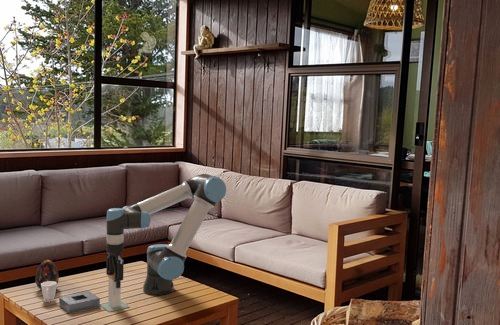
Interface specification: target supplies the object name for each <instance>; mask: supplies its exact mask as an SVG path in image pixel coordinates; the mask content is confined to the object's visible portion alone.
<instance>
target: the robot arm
mask: <svg viewBox="0 0 500 325" xmlns="http://www.w3.org/2000/svg"><path fill="white" fill-rule="evenodd" d="M226 193H227V186H226V183H225V182H224V180H223V179H222V178H220V177H219V176H216V175H210V174H208V173H200V174H198V175H195V176H193V177H190V178H188V179H186V180H184V181H183V182H182V184H180V185H177V186H175V187H172V188H170V189H168V190H166V191H163V192H160V193H158V194H157V195H154V196H151V197H149V198H147V199H144V200H143V201H140V202H137V203H135V204H132V205H125V206H123V207H122V208H120V207H117V208H116V207H113V208H109V209H107V211H106V237H105V238H106V246H105V247H106V248H105V249H106V252H107V253H105V258H106V275H107V276H108V277H107V278H109V275H113V274H115V280H114V295H119V294H120V281H121V282H122V281H124V263H125V258H122V255H121V254H122V252H123V251H124V248H125V247H124V241H125V238H124V236H125V235H124V234H125V231H124V230H132V229H133V230H134V229H145V228H149V227H150V226H151V215H152V214H155V213H157V212H159V211H162V210H163V209H164V210H165V209H166V208H168V207H171V206H173V205H176V204H178V203H180V202H182V201H185V200H187V199H191V200H192V199H194V200H193V203H192V204H191V206H190V207H189V209H188V211H187V213H186V214H185V217H184V218H183V220H182V222H181V223H180V225H179V227H178V229H177V230H176V232H175V234H174V235H173V238H172V240H171V242H170V243H169V244H166V243H165V244H164V243H163V244H162V243H161V244H160V243H159V244H153V245H149V246H148V247H147V251H146V258H147V259H146V261H147V262H146V276H145V279H144V284H143V286H142V290H143V291H142V292H144V293H145V294H147V295H153V296H163V295H168V294H170V293H173V291H174V288H175V286H174V280H176V279H178V278H179V277H180V276H182V274H183V273H184V271H185V270H184V269H185V261H186V259H187V257H188V256H187V251H188V249H189V247H190V246H191V244H192V242H193V240H194V238H195V236H196V234H197V232H198V231H199V229H200V227H201V225H202V224H203V222H204V220H205V219H206V217H207V215H208V212H210V210H211V209H213V208H215V207H216V205H217V203H218V202H220V201H222V200H223V199H224V198H225V196H226Z"/></svg>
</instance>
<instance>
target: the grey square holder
mask: <svg viewBox="0 0 500 325" xmlns="http://www.w3.org/2000/svg"><path fill="white" fill-rule="evenodd" d="M100 303H101V298H100V297H99V296H97V295H96V294H95V293H93V292H91V291H90V290H88V291H87V290H85V291H83V292H82V291H81V292H77V293H72V294H67V295H62V296H59V298H58V305H59V307H60V306H61V307H60V308H62V310H64V311H65V312H67V313H68V314H74V313H79V312H83V311H87V310H92V309H96V308H100V307H101V306H100Z"/></svg>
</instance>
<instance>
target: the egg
mask: <svg viewBox="0 0 500 325" xmlns="http://www.w3.org/2000/svg"><path fill="white" fill-rule="evenodd" d="M58 270H59V269H58V268H57V266H56V264H55V263H54V262H53V261H52V260H49V259H45V260H44V261H42V262H41V263H40V264H39V265H38V268H37V271H36V274H35V279H34V280H35V285H36V286H37V288H38V289H40V292H42V288H41V284H42V283H43V282H47V281H54V282H56V283H57V285H58V283H59V280H60V279H59V277H60V276H59V271H58Z"/></svg>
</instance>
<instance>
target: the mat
mask: <svg viewBox="0 0 500 325" xmlns="http://www.w3.org/2000/svg"><path fill="white" fill-rule="evenodd" d="M100 307H101V308H102V309H103V310H105V311H106V312H108V313H112V312H115V311H121V310H123V309H124V310H125V309H128V308H130V306H129V305H128V304H126V303H125V302H123V301H121V306H118V307H114V308H112V307H110V306H109V305H108V302H105V303H101V304H100Z"/></svg>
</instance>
